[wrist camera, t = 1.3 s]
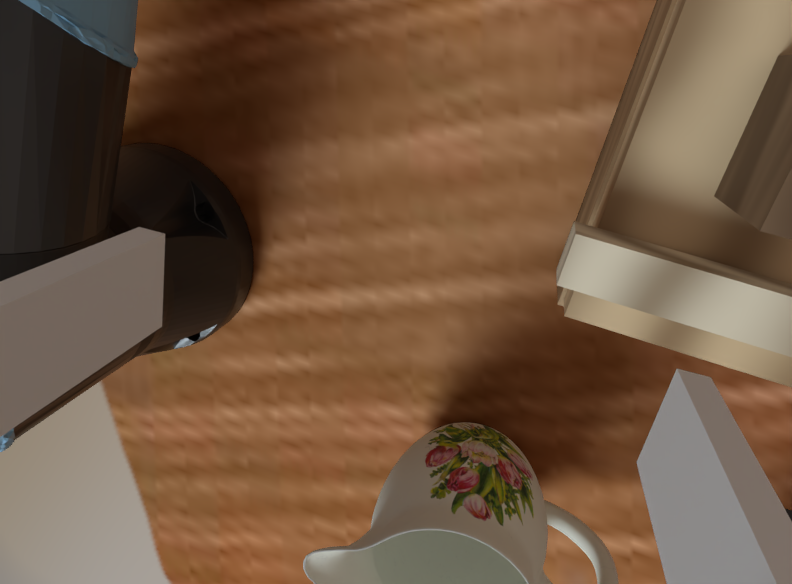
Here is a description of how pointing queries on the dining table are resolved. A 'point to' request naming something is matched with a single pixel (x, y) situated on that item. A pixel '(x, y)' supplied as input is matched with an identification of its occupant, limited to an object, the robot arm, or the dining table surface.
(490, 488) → the pitcher
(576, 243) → the beige wooden bar
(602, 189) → the light wood open box
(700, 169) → the lid
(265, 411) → the dining table surface
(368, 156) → the dining table surface
